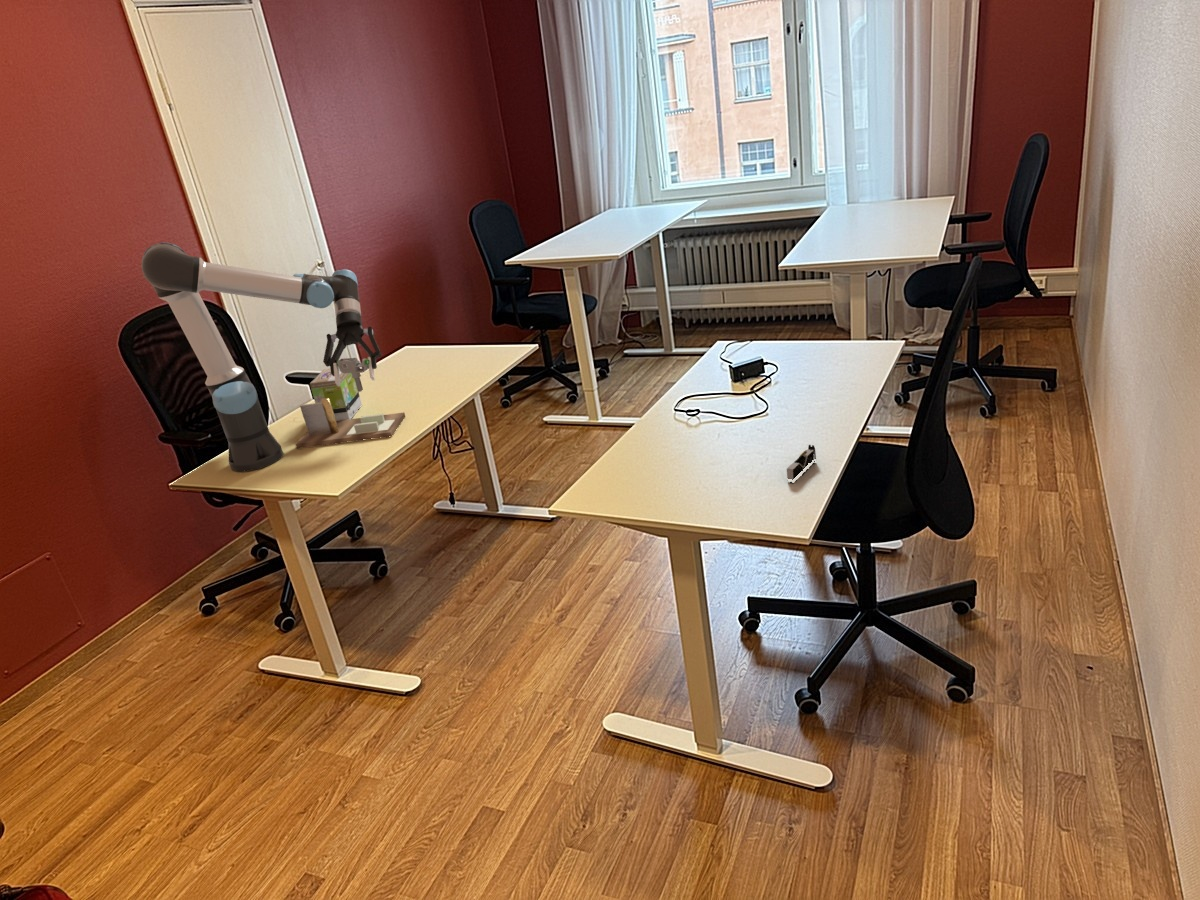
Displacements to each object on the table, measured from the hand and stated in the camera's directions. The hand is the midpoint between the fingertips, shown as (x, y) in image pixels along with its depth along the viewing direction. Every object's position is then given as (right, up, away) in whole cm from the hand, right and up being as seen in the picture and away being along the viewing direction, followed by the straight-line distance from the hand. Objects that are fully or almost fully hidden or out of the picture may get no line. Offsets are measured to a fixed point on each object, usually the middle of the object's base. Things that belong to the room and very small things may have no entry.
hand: (355, 381), depth 238 cm
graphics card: (+119, -26, -55) cm, 133 cm away
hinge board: (-5, -15, +13) cm, 20 cm away
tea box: (-13, -9, +29) cm, 33 cm away
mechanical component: (0, -3, +4) cm, 5 cm away
